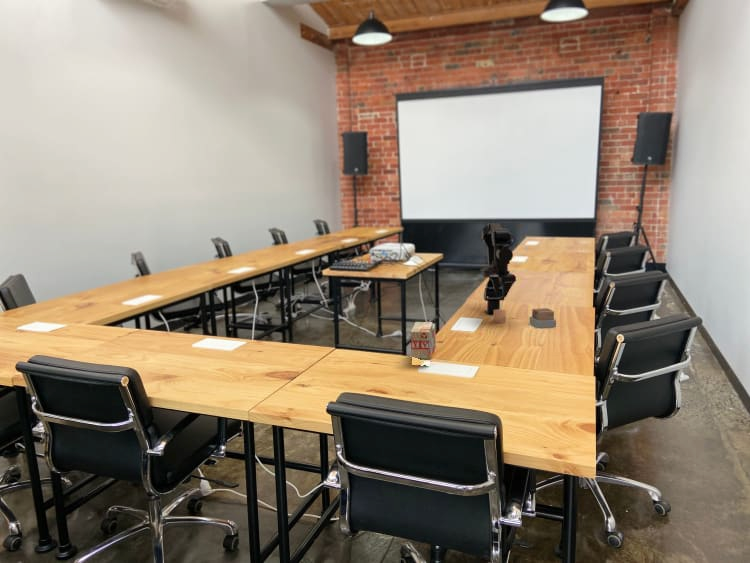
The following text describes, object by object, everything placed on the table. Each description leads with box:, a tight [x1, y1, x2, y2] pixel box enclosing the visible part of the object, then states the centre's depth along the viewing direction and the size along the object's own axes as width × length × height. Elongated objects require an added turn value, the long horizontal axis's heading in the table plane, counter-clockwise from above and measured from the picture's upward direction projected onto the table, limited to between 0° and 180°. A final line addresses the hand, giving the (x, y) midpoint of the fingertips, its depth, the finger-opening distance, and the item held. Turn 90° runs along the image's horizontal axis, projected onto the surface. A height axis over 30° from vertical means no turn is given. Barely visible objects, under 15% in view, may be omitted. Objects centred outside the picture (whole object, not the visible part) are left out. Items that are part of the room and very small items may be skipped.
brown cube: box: [492, 308, 507, 324], centre depth 234 cm, size 5×5×5 cm
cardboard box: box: [410, 321, 437, 360], centre depth 191 cm, size 21×6×12 cm, turn 168°
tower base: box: [528, 316, 557, 330], centre depth 227 cm, size 8×8×4 cm
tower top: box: [531, 307, 555, 321], centre depth 226 cm, size 6×6×4 cm
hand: (500, 294), depth 233 cm, fingers open, 9 cm apart
